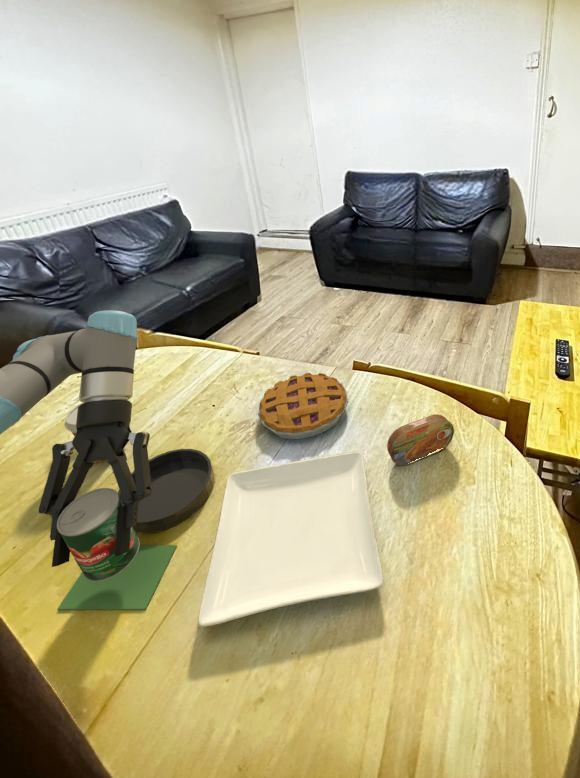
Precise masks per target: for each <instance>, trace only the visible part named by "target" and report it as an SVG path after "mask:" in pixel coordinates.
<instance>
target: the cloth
mask: <svg viewBox="0 0 580 778" xmlns="http://www.w3.org/2000/svg"><path fill="white" fill-rule="evenodd" d="M177 547H178V545H177V544H153V545H152V544H150V545H147V544H145V545H143V544H142V545H140V547H139V551H138V553H137V555H136V557H135V559H134V560H133V561H132V563H131V564H130V565H129V566H128V567H127V568H126V569H125V570H124V571H122V572H121V573H120V574H118V575H117V576H115V577H113V578H111V579H109V580H106V581H103V582H91V581H88V580H87V579H86V578H85V577H84V575H83V572H82V571H81V573H79V576H78V577H77V578H76V580H75V581H74V582H73V584H72V586H71V588H70V589H69V591H68V593H67V594H66V595H65V597H64V598H63V600H62V601H61V602H60V604H59V606H58V607H57V610H58V611H147V609H148V607H149V605H150V602H151V600H152V598H153V596H154V594H155V592H156V590H157V588H158V587H159V584H160V582H161V580H162V578H163V576H164V574H165V572H166V570H167V568H168V565H169V563H170V561H171V559H172V557H173V555H174V553H175V551H176V550H177Z"/></svg>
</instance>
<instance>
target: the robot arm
mask: <svg viewBox="0 0 580 778" xmlns="http://www.w3.org/2000/svg"><path fill="white" fill-rule="evenodd" d="M85 327H86V328H81V329H78V330H73V331H67V332H62V333H55V334H51V335H50V334H47V335H42V336H39V337H36V338H33V339H30V340H27V341H24V342H22V343H21V344H20V345H19V346H18V347H17V349H16V351H15V353H14V354H13V356H12V360H11V361H9V362H8V363H6V364H5V365H3V366H2V367H1V368H0V435H2V434H3V433H5V432H6V431H7V430H9V429H10V428H11V427H13V426H15V424H17V423H19V422H20V420H21V418H23V417H24V416H25V415H26V414H27V413H28V412H29V411H30V410H32V408H34V407H35V406H36V405H37V404H38V403H40V401H42V400H43V399H44V398H45V397H47V396H49V394H50V393H51V392H53V391H54V390H55V389H56V388H58V387H59V386H60V385H61V384H62V383H63V382H64V381H66V380H67V379H68V378H69V377H71V376H73V375H76V374H81V378H80V386H79V395H78V401H79V402H81V403H83V404H81V403H80V404H81V405H80V406H79V407H78V412H77V420H76V428H77V433H76V435H75V436H73V438H72V440H70V441H67V442H64V443H55V444H54V445H52V448H51V451H52V452H51V453H52V455H51V456H52V461H51V464H50V468H49V472H48V475H47V479H46V481H45V486H44V488H43V493H42V496H41V499H40V502H39V506H38V510H37V511H38V513H39V514H40V515H42V514H45V515H49V516H50V517H51V524H50V533H49V539H50V540H49V541H54V544H53V552H52V560H51V561H52V562H51V568H54V567H55V568H56V567H59V566H61V565H63V564H66V563H69V562H70V557H71V552H70V550H69V548H68V546H67V545H66V543H65V541H64V539H63V538H62V535H61V533H59V531H58V529H57V521H58V518H59V516H60V515H61V513H62V511H63V510H64V509H65V508H66V507H67V506H68V505H69V504H70V503H71V502H72V501H74V500H75V499H76V498H77V497H78V494H79V492H80V489H81V487H82V485H83V484H84V482H85V479H86V477H87V475H88V474H89V471H90V470H91V469H92V468H93V467H94V465H95V462H100V461H105V460H107V461H105V462H107V463H108V465H110V467H111V469H112V473H113V475H114V478H115V481H116V484H117V486H118V490H119V489H120V492H121V495H122V497H123V500H124V503H122V504H123V505H124V506H120V507H118V519H117V533H116V546H115V556H119V555H122V554H124V553H126V552H128V551H129V549H130V534H131V527H133V526H136V523H137V514H138V504H139V502H140V500H142V499H144V498H146V497H148V496H150V495H151V494H152V486H151V477H150V468H149V460H150V458H149V451H148V450H149V449H148V446H149V442H150V438H151V435H150V433H149V432H146V431H145V432H143V431H138V432H133V431H132V429H131V426H130V425H131V421H132V408H133V403H132V402H131V401H130V400H131V399H132V398H133V394H134V393H133V392H134V379H135V378H134V377H135V376H134V374H135V369H134V367H135V359H136V350H137V342H138V322H137V318H136V317H135V316H134V315H133V314H131V313H128V312H126V311H121V310H113V309H112V310H111V309H110V310H109V309H108V310H107V309H106V310H99V311H95V312H93V313H92V314H90V315H89V316H88V319H87V322H86V323H85ZM129 442H130V446H131V447H132V461H133V471H135V481H136V485H135V482H134V480H133V477H132V474H131V473H132V472H131V469H130V467H129V464H128V457H127V455H126V451H125V447H126V446H127V445H128V443H129ZM74 450H75V451H76V453H77V456H76V458H75V459H74V461H73V464H72V469H71V471H70V473H69V475H68V477H67V474H68V470H69V467H70V463H71V458H72V457H71V456H72V455H73V454H74V452H75V451H74ZM100 463H101V462H100ZM66 478H67V479H66Z"/></svg>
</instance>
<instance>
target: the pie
mask: <svg viewBox="0 0 580 778" xmlns="http://www.w3.org/2000/svg"><path fill="white" fill-rule="evenodd" d="M348 403H349V399H348V393H347V390H346V389H345V387H344V385H343V383H341V382H340V381H339V380H338V379H337V378H336V377H334V376H333V377H331V376H328V375H327V374H325V373H322V372H319V373H318V374H312V373H311V372H305V373H304V374H303V375H299V376H297V375H296V374H295V375H291V376H290V377H289V378H288V379H286V380H284V381H283V380H280V381H278V382H276V383H274V386H273V387H272V388H267V390H266V391H265V392H264V395H263V397H262V398H261V400H260V401H259V406H258V413H257V415H258V417H259V420H260V421H261V424H262V426H263V427H264V428H266V429H268V430H269V431H271V432H272V433H273V434H275V435H276V436H278V437H279V438H280V439H285V440H286V439H287V440H302V439H305V438H307V439H308V438H313V437H315V436H317V435H320V434H322V433H324V432H326V431H329V430H330V429H331V428H332V427H334V426H335V425H336V424H337V423H339V422H340V419H341V416H342V415H344V413H345V410H346V408H347V405H348Z"/></svg>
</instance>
